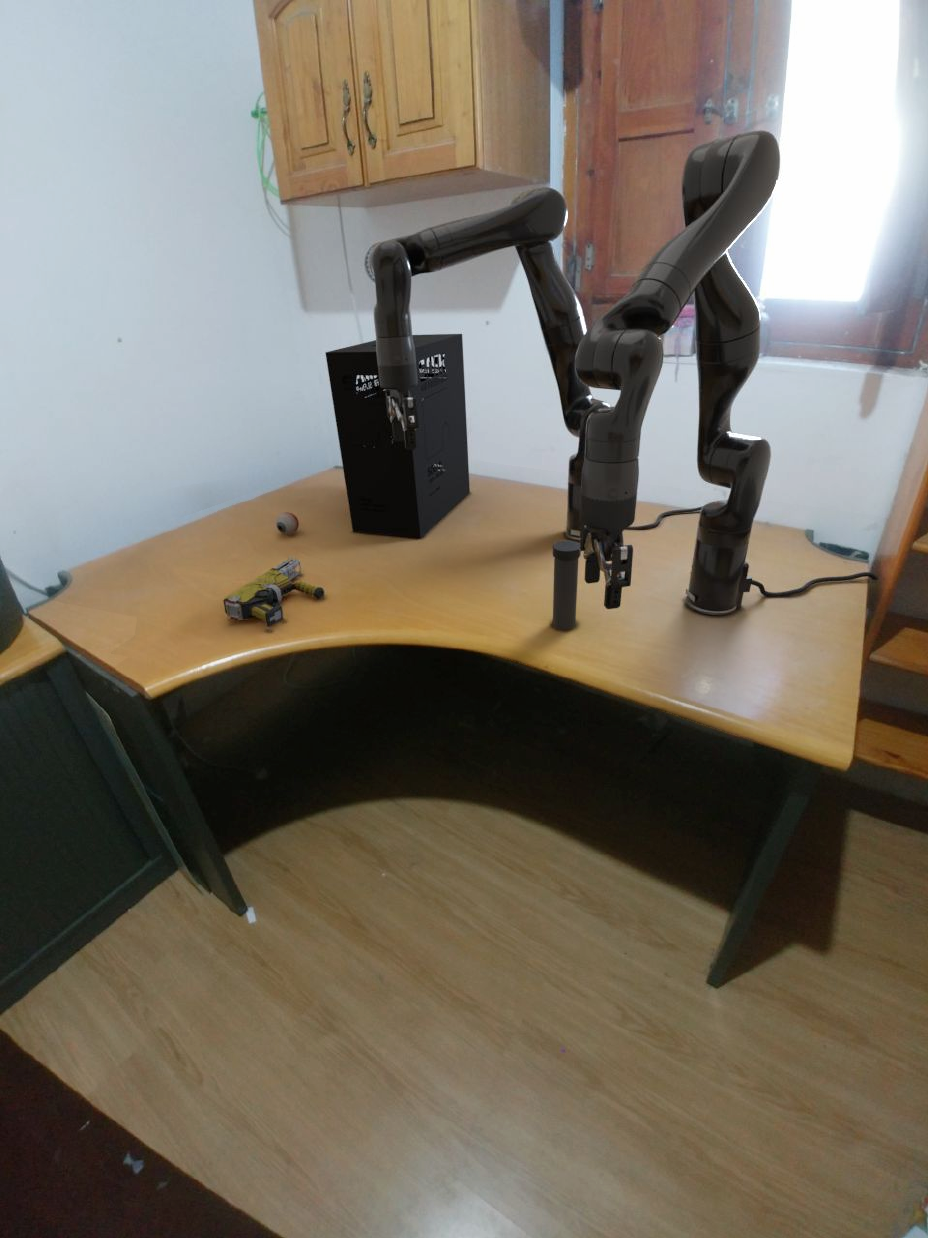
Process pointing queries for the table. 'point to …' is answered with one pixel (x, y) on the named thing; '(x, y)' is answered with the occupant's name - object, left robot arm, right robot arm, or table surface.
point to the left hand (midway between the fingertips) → (404, 444)
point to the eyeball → (287, 523)
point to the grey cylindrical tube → (565, 593)
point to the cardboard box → (384, 469)
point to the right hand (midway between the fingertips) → (601, 594)
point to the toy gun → (268, 594)
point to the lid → (566, 550)
